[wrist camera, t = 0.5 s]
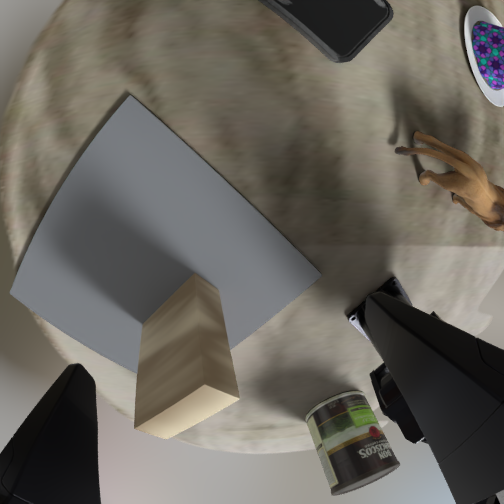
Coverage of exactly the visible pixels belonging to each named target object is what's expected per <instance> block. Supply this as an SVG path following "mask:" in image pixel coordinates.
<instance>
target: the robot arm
mask: <svg viewBox="0 0 504 504" xmlns="http://www.w3.org/2000/svg"><path fill="white" fill-rule="evenodd" d="M348 320H349V322H350V323H351V324H352V325H353V326H354V327H356V328H357V329H358V330H359V331H360V332H361V333H362V334H363V335H364V336H365V337H366V338H367V339H368V340H369V341H371V343H372V344H373V346H374V347H375V349H376V350H377V352H378V353H379V355H380V356H381V358H382V359H383V361H384V363H383V364H381V365H380V366H379V367H378V368H377V369H376V370H375V371H374V370H373V371H372V372H371V373H370V377H371V380H372V381H371V382H372V385H373V387H374V390H375V393H376V396H377V399H378V402H379V405H380V408H381V410H382V412H383V414H384V415H385V416H388V417H389V418H390V419H391V420H392V421H393V422H395V423H397V424H398V426H399V427H400V429H401V431H402V433H403V435H404V437H405V438H406V439H407V440H409V441H410V442H412V443H415V444H416V443H418V442H419V441H422V442H424V443H427V444H429V446H430V448H431V450H432V452H433V454H434V456H435V458H436V460H437V462H438V463H439V467H440V469H441V471H442V473H443V475H444V477H445V480H446V482H447V484H448V486H449V488H450V491H451V493H452V495H453V497H454V500H455V502H456V504H504V350H503V349H500V348H498V347H496V346H494V345H492V344H489V343H487V342H485V341H483V340H481V339H479V338H475V336H473V335H471V334H469V333H467V332H465V331H463V330H461V329H458V328H456V327H454V326H452V325H450V324H448V323H446V322H444V321H443V320H442V319H441V318H440V317H439V316H438V315H437V314H436V313H435V312H434V311H433V312H432V313H431V314H430V315H429V314H427V313H425V312H423V311H421V310H419V309H417V308H415V307H413V306H412V303H411V301H410V300H409V298H408V296H407V294H406V293H405V291H404V289H403V288H402V286H401V284H400V283H399V281H398V280H397V278H395V277H392V278H390V279H389V280H388V281H387V282H386V283H385V284H384V285H383V286H382V287H381V288H379V289H378V290H377V291H376V292H375V293H373V294H370V295H368V296H367V299H366V301H365V302H363V303H362V304H361V305H360V306H359V307H358V308H356V309H355V310H354V311H353V312H352V313H350V314H349V315H348ZM0 504H101V498H100V487H99V471H98V422H97V407H96V385H95V381H94V379H93V377H92V376H91V375H90V374H89V373H88V371H87V370H86V369H85V368H84V367H83V366H82V365H81V364H79V363H76V364H70V365H68V367H67V368H66V369H65V370H64V371H63V373H62V374H61V375H60V376H59V377H58V379H57V380H56V381H55V382H54V384H53V385H52V386H51V387H50V388H49V390H48V391H47V392H46V394H45V395H44V396H43V397H42V399H41V400H40V401H39V402H38V404H37V405H36V406H35V407H34V409H33V410H32V411H31V413H30V414H29V415H28V416H27V418H26V419H25V421H24V422H23V423H22V425H21V426H20V427H19V428H18V430H17V431H16V433H15V434H14V436H13V437H12V438H11V440H10V441H9V442H8V444H7V445H6V446H5V448H4V449H3V451H2V452H1V453H0Z"/></svg>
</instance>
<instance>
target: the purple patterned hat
mask: <svg viewBox="0 0 504 504" xmlns="http://www.w3.org/2000/svg"><path fill="white" fill-rule="evenodd" d="M477 21H484V22H480V25H475V26H474V24H475V23H476V22H477ZM473 26H474V27H473ZM472 28H473V34H474V39H473V41H472V42H471V34H472ZM464 34H465V43H466V48H467V53H468V57H469V61H470V64H471V67H472V70H473V73H474V75H475V78H476V80H477V83H478V84H479V86H480V88H481V90H482V92H483V93H484V95H485V96H486V97H487V99H488V100H489V101H490V102H491V103H493V104H494V105H496V106H500V107H503V106H504V28H503V27H502V25H501V24H500V22H499V21H498V20H497V18H496V17H495V16H494V15H493V14H492V13H491V12H490V11H489V10H487V9H486V8H484V7H482V6H473V7H471V8H470V9H469V10H468V12H467V14H466V17H465V24H464ZM472 47H473V49H472ZM473 51H474V54H475V56H476V58H477V59H478V67H477V65H476V62H475V58H474V54H473ZM478 68H479V70H478ZM479 71H480V72H479ZM480 73H481V74H480ZM481 75H482V76H483V77H484V78H486V79H487V81H488V84H489V86H490V87H491V88H493V89H499V88H500V89H501V90H499V91H495V90H493V89H491V88H490V87H489V86H488V85H487V84H486V83H485V81H484V80H483V78H482V76H481Z"/></svg>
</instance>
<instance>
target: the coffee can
mask: <svg viewBox="0 0 504 504" xmlns="http://www.w3.org/2000/svg"><path fill="white" fill-rule="evenodd" d="M305 421H306V423H307V425H308V428H309V430H310V433H311V436H312V439H313V442H314V444H315V447H316V450H317V452H318V455H319V458H320V461H321V464H322V466H323V469H324V472H325V475H326V477H327V480H328V482H329V485H330V488H331V494H332V495H333V496H335V495H340V494H344V493H347V492H350V491H353V490H356V489H358V488H361V487H363V486H366V485H368V484H370V483H373V482H374V481H377V480H378V479H380V478H382V477H384V476H386V475H388V474H389V473H391V472H392V471H394V470H395V469H397V468H398V467H399V466H400V463H399V461H397V459H396V457H395V455H394V453H393V451H392V449H391V447H390V445H389V443H388V441H387V439H386V437H385V435H384V433H383V431H382V429H381V427H380V425H379V423H378V421H377V419H376V417H375V415H374V413H373V411H372V409H371V407H370V405H369V403H368V401H367V400H366V398H365V394H364V393H363V392H361V391H349V392H345V393H341V394H338V395H336V396H333V397H331V398H329V399H327V400H325V401H323V402H321V403H319V404H318V405H317V406H315V407H314V408H313V409H311V410H310V411H309V413H308V414H307V415H306V418H305Z"/></svg>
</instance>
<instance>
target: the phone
mask: <svg viewBox="0 0 504 504" xmlns="http://www.w3.org/2000/svg"><path fill="white" fill-rule="evenodd" d="M258 1H260V2H261V3H263V4H264V5H265V6H267V7H268V8H269V9H271V10H272V11H273V12H275V13H276V14H277V15H279V16H280V17H281V18H282V19H284V20H285V21H286V22H287V23H289V24H290V25H291V26H292V27H294V28H295V29H296V30H297V31H298V32H299V33H301V34H302V35H303V36H304V37H305V38H306V39H308V40H309V41H310V42H311V43H312V44H313V45H314V46H315V47H316V48H317V49H319V50H320V51H321V52H322V53H323V54H324V55H325V56H326V57H327V58H328V59H330V60H331V61H333V62H336V63H343V62H348V61H351V60H352V59H353V58H354V57H355V56H356V55H357V54H358V53H359V52H360V51H361V50H362V49H363V48H364V47H365V46H366V45H367V44H368V43H369V42H370V41H371V40H372V39H373V38H374V37H375V36H376V35H377V34H378V33H379V32H380V31H381V30H382V29H383V28H384V27H385V26H386V25H387V24H388V23H389V22H390V21H391V20H392V18H393V10H392V7H391V6H390V4H389V3H388V2H387V1H386V0H258Z"/></svg>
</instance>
